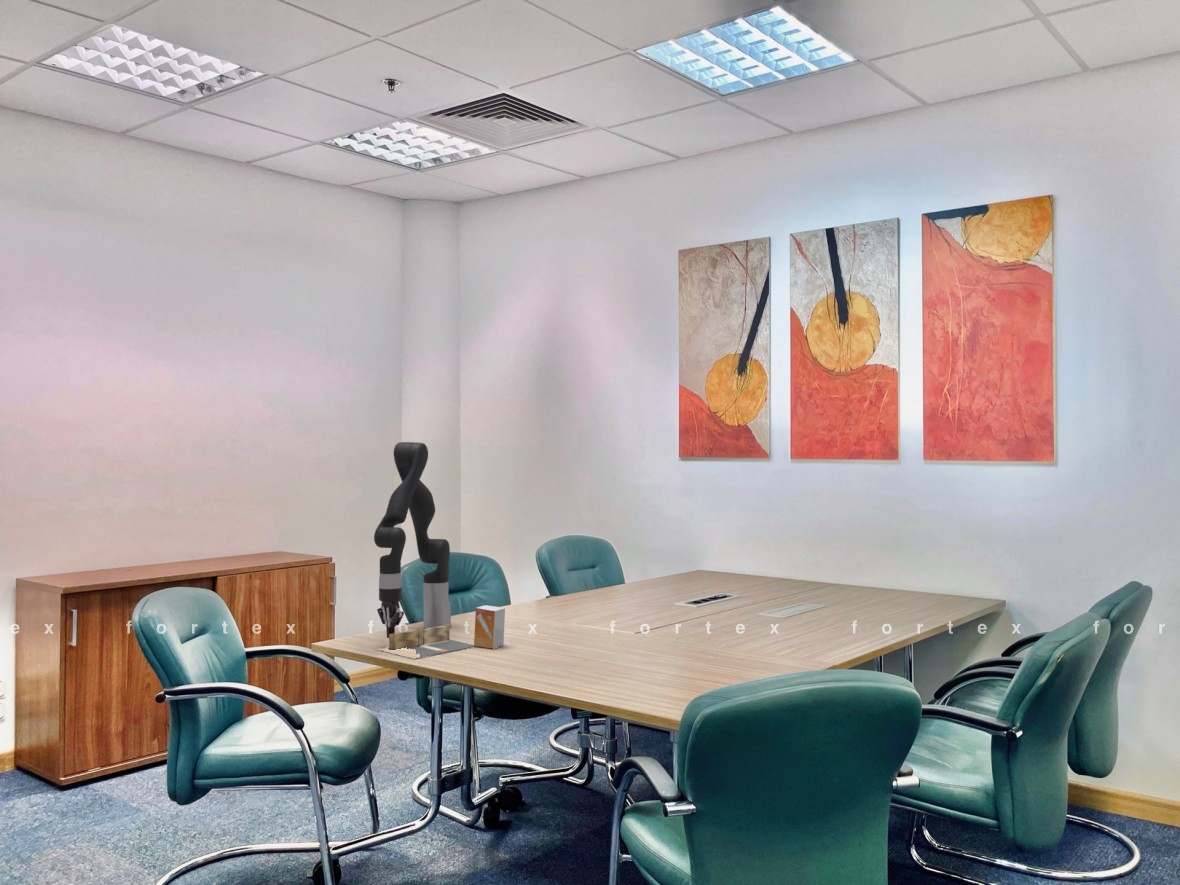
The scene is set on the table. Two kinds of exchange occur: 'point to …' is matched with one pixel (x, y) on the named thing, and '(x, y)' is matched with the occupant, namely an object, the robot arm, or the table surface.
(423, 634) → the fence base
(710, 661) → the table surface
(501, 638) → the small box
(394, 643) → the fence gate
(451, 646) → the card
